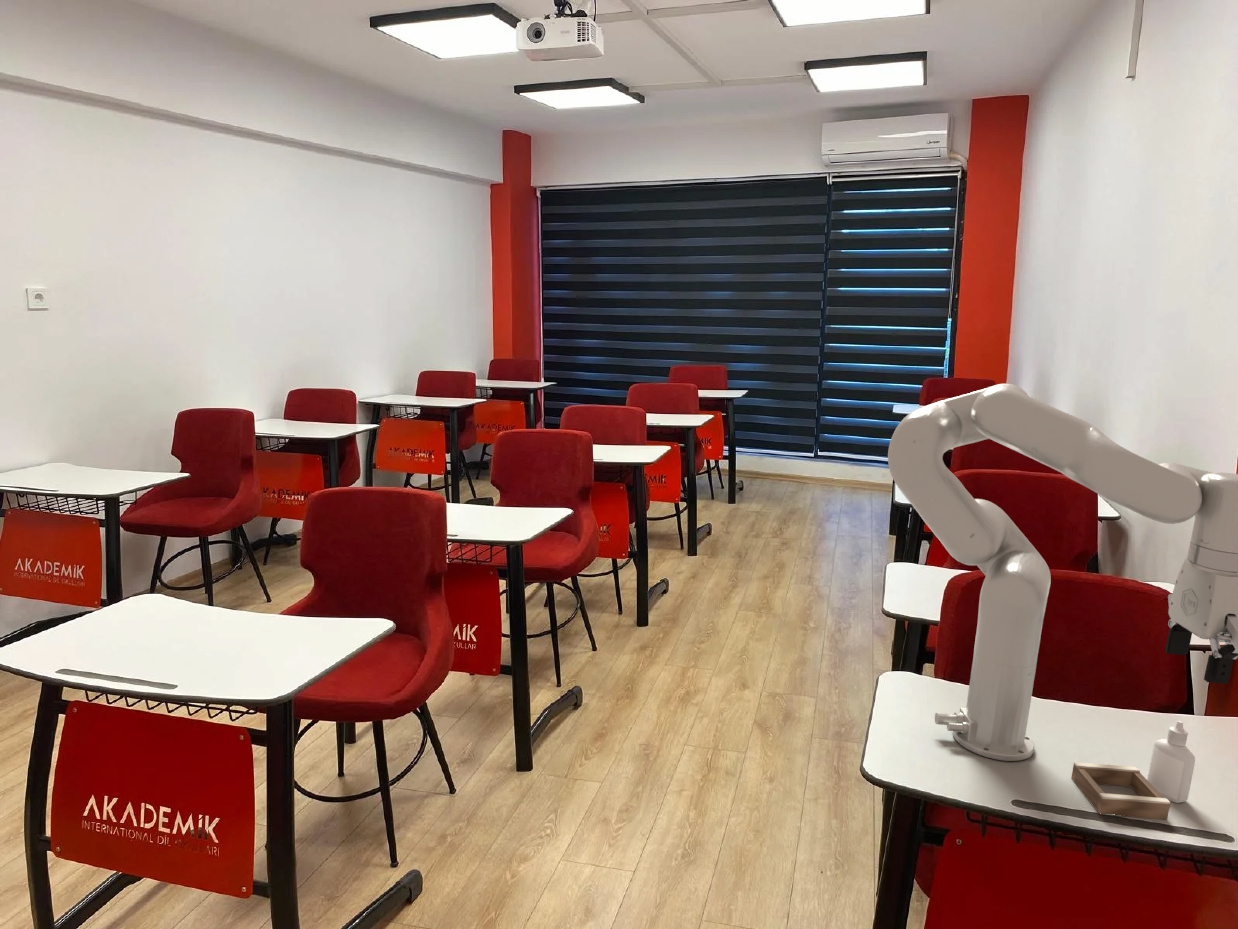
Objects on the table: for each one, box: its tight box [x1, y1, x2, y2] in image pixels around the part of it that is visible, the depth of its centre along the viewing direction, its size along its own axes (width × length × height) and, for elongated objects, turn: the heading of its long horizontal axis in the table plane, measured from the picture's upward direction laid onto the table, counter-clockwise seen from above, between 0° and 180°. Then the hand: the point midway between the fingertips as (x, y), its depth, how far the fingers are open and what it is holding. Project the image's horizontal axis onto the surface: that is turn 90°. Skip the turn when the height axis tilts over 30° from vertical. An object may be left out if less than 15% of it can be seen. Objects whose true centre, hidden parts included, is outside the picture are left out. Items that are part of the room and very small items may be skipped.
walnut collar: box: [1070, 761, 1171, 821], centre depth 131 cm, size 10×10×3 cm
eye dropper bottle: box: [1146, 720, 1196, 804], centre depth 132 cm, size 4×6×12 cm
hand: (1195, 667), depth 130 cm, fingers open, 9 cm apart
